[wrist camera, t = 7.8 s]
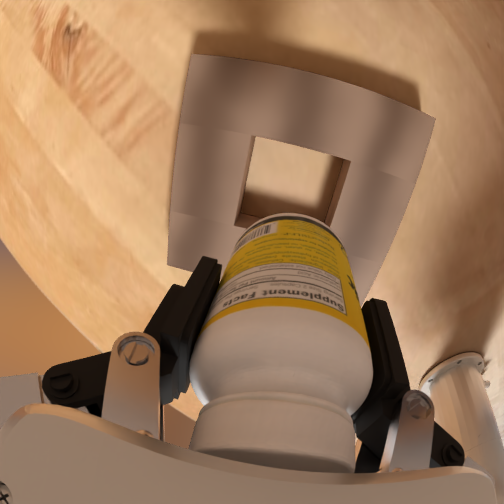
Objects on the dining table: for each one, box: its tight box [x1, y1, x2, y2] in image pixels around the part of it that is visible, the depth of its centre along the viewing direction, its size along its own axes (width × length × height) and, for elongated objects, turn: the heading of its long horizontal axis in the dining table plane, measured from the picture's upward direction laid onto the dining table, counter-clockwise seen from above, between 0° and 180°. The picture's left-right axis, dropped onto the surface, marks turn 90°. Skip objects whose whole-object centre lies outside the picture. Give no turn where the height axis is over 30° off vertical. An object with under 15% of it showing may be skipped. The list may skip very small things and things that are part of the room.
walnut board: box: [167, 54, 436, 306], centre depth 24 cm, size 20×20×3 cm
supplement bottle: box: [189, 213, 373, 473], centre depth 9 cm, size 5×5×10 cm
